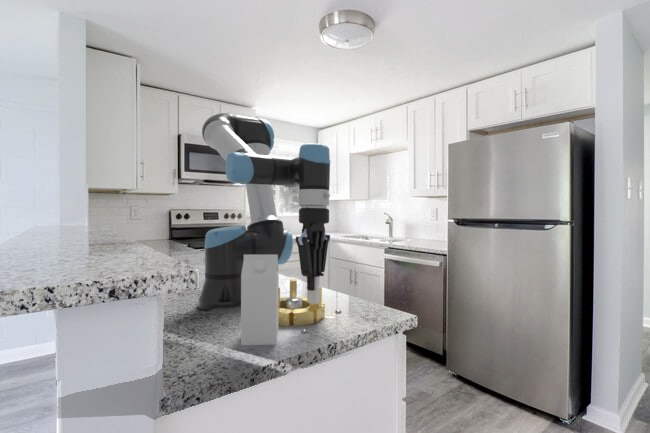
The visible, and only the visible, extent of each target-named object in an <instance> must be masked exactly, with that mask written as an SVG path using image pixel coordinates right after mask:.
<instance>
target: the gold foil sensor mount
mask: <svg viewBox="0 0 650 433" xmlns="http://www.w3.org/2000/svg"><path fill="white" fill-rule="evenodd" d="M297 282H298V281H297V279H295V278H294V279H292V278H289V296H286V297H281V287H279V286H278V326H279V325H280V326H287V327H289V326H291V325H292V326H293V327H295V326H296V327H298V326H304V325H312V324H313V325H314V323H318V322H319V321H321V320H322V319H324V318H323V317H326V315H325V311H326V310H325V307H326V305H325V303H324V302H323V301H322V297H323V296H322V292H323V290H322V289H323V288H322V287H323V286H319V303H318V304H313V303H307V296H297V295H298V293H297V292H298V290H297V287H298V284H297ZM291 297H298V298H302V309H294V310H291V309H286V299H287V298H291Z"/></svg>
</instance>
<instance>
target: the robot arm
mask: <svg viewBox="0 0 650 433" xmlns="http://www.w3.org/2000/svg"><path fill="white" fill-rule="evenodd" d="M201 135H202V138H203V140H204V142H205V143H206V145H208V146H209V147H210V148H211V149H214V150H215V151H217V153H218V154H219V155H220V156H221V158H223V160H224V161H225V163H224V164H225V167H224V168H225V169H224V171H225V176H226V180H228V181H229V182H230V183H233V184H241V185H245V188H246V189H245V190H246V196H247V202H248V203H247V204H248V210H249V217H250V222H249V224H248V225H247V226H245V225H231V226H225V227H224V226H223V227H217V228H214V229H210V230H208V231H207V232H206V234H205V237H204V238H205V240H204V246H203V247H204V282H203V286H202V289H201V292H200V296H199V297H198V308H199V309H200V310H203V311H207V312H210V311H213V310H215V309H224V308H225V309H226V308H228V309H229V308H235V307H241V274H242V267H243V261H244V255H278V266H279V265H280V266H281V265H284V264H286V263H287V262H288V261H289V259H291V256H292V252H293V247H294V238H293V237H294V236H293V234H292V232H291V230H289V229H287V228H284V222H283V221H282V220H281V219H280V218H278V215H277V211H276V210H277V208H276V204H275V203H276V202H275V197H274V192H273V186H282V187H285V188H296V187H298V206H299V207H300V208H299V209H298V223H300V224H302V228H301V235H300V236H295V242H296V245H297V249H298V255H299V256H298V258H299V265H300V273H301V275H302V276H303V277H306V297H307V303H313V304H318V303H319V287H320V277H324V275H325V273H324V272H325V269H326V265H327V264H326V263H327V257H328V256H327V255H328V249H329V248H328V247H329V246H328V245H329V242H330V239H331V235H330V234H327V233H326V228H325V225H326V224H329V223H330V209H329V208H328V207H329V206H330V197H331V194H330V182H331V181H330V180H331V179H330V178H331V176H330V173H331V159H330V158H331V157H330V148H329V147H328V145H325V144H322V143H311V142H310V143H305V144H302V145H300V147H299V153H298V156H297V157H285V156H275V155H270V153H271V151H272V150H273V148H274V145H275V140H274V139H275V132H274V128H273V126H272V124H271V123H270V122H269V120H267V119H263V118H260V117H250V116H245V115H240V114H232V113H228V112H227V113H226V112H224V113H223V112H221V113H217V114H214V115H212V116H210V117H209V118H208V119H206V120H205V122H204V124H203V125H202V128H201Z"/></svg>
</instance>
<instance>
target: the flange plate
mask: <svg viewBox="0 0 650 433" xmlns="http://www.w3.org/2000/svg"><path fill="white" fill-rule="evenodd" d="M298 297H299V296H297V297H291V298H287V299H286V309H291V310H294V309H302V298H298ZM334 312H335V314H341V313H342V310H341V309H335V311H334ZM325 318H326V319H335V316H325V317H323V318H322V319H325ZM300 333H301V334H308V333H309V329H308V328H302V329H300Z"/></svg>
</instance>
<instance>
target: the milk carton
mask: <svg viewBox="0 0 650 433" xmlns="http://www.w3.org/2000/svg"><path fill="white" fill-rule="evenodd" d="M279 273H280V272H279V265H278V255H244V261H243V267H242V274H241V306H240V346H265V345H266V346H268V345H271V346H272V345H277V342H278V336H279V325H278V287H279Z"/></svg>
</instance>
